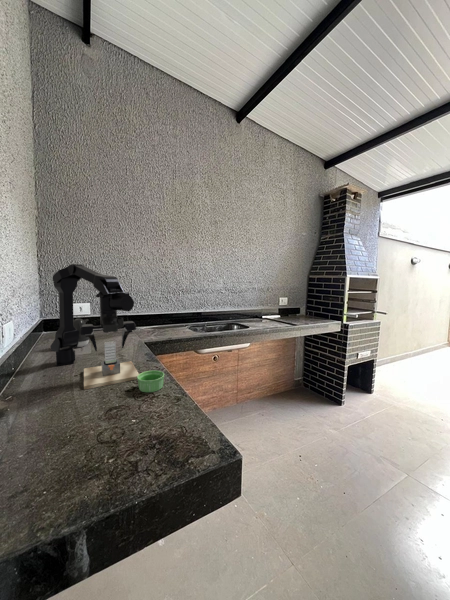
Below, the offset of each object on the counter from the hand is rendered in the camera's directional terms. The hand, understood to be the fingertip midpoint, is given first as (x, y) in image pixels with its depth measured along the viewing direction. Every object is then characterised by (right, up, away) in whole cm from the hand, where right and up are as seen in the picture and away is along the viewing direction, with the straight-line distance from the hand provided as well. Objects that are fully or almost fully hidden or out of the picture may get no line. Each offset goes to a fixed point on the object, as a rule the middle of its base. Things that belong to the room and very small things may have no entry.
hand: (109, 349), depth 92 cm
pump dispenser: (-35, -6, +38) cm, 52 cm away
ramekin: (+19, -11, -10) cm, 24 cm away
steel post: (0, -5, 0) cm, 5 cm away
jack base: (0, -10, 0) cm, 10 cm away
